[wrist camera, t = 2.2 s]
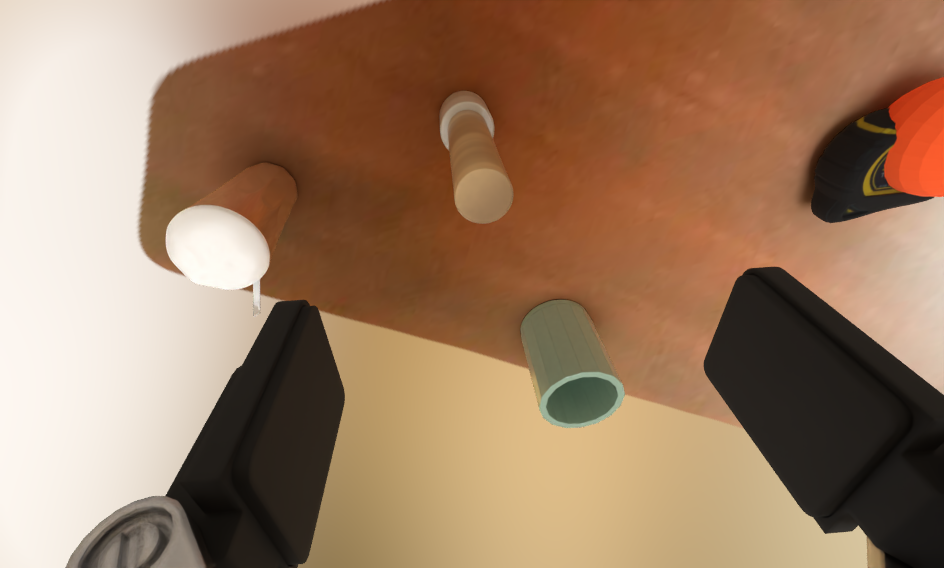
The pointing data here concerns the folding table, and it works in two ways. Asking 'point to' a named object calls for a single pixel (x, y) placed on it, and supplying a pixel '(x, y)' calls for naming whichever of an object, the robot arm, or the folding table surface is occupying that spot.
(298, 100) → the folding table surface
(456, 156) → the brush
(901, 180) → the clementine
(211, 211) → the milkshake
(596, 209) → the folding table surface
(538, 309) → the cup
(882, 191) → the tape measure
